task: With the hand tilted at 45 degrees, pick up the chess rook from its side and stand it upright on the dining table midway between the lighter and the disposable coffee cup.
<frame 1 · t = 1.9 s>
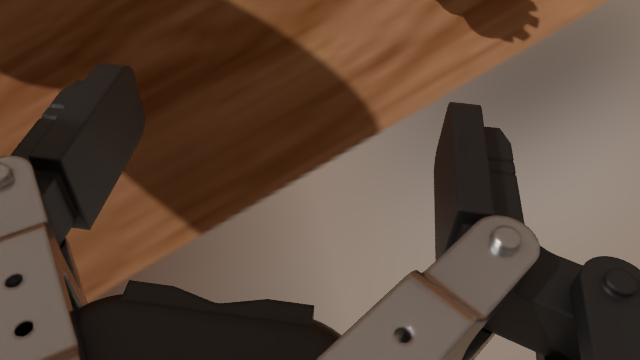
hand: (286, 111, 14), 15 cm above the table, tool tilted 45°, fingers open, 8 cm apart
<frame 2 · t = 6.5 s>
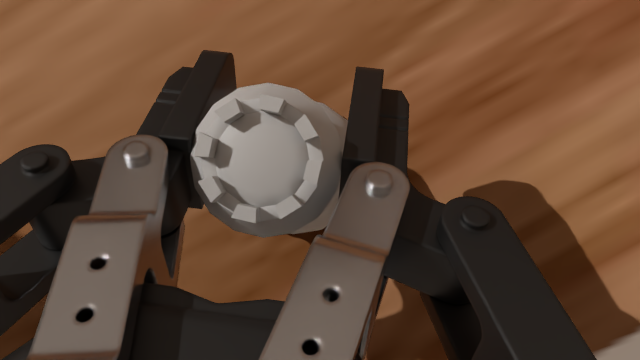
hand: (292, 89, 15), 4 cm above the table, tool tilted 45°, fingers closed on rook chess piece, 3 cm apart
rook chess piece: (300, 167, 19), on the table, touching gripper
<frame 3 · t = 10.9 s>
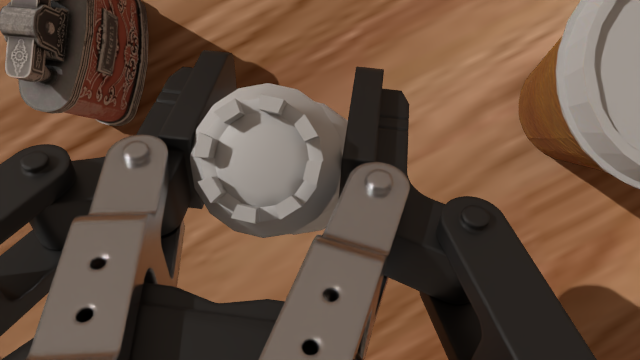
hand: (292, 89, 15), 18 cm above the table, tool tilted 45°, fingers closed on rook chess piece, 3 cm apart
rook chess piece: (300, 167, 19), point 14 cm above the table, touching gripper
lighter: (122, 60, 33), on the table
disposable coffee cup: (572, 107, 31), on the table
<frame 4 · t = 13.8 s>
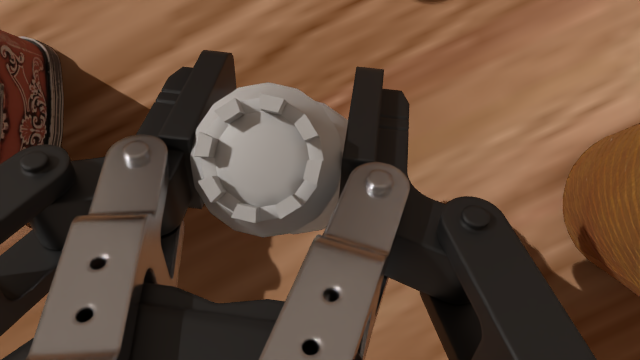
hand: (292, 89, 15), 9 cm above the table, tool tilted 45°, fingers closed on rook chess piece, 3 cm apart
rook chess piece: (300, 166, 19), point 5 cm above the table, touching gripper
lighter: (29, 130, 25), on the table
disposable coffee cup: (636, 203, 23), on the table
when the fingers open (4 cm above the table, at t = 15.6 s): rook chess piece stays where it is, on the table.
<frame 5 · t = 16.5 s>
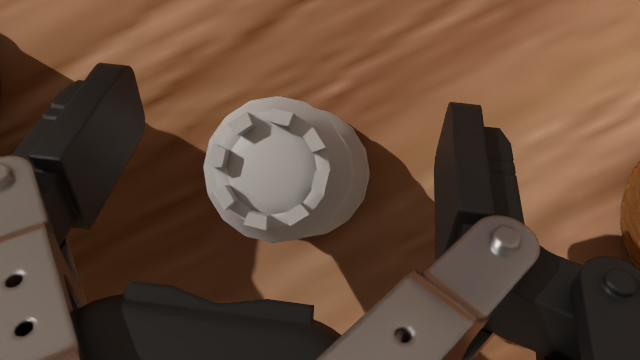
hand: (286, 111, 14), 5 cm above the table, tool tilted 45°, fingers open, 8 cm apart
rook chess piece: (306, 172, 19), on the table
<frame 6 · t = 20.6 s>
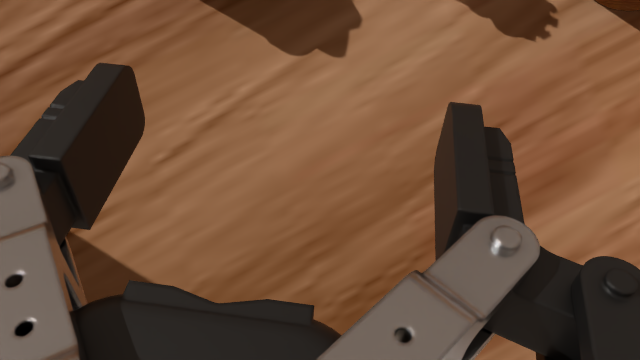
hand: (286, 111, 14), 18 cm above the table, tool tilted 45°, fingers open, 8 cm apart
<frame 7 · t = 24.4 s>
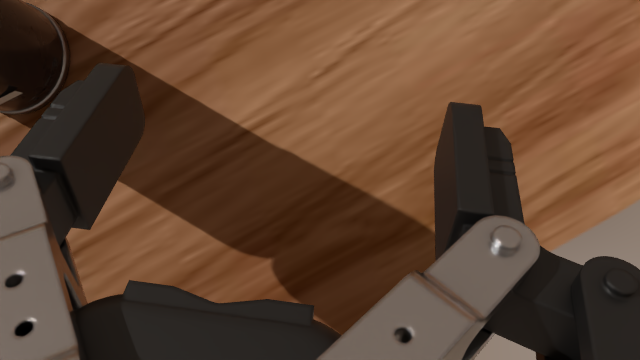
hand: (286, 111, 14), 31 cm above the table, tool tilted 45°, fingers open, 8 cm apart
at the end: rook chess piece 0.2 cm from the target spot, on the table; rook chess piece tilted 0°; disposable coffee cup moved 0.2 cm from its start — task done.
